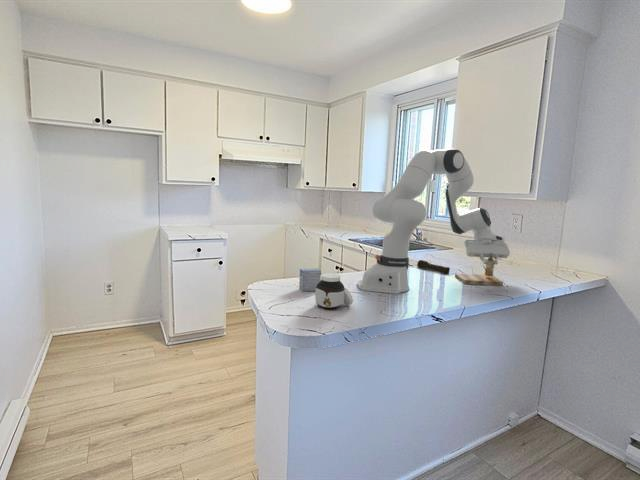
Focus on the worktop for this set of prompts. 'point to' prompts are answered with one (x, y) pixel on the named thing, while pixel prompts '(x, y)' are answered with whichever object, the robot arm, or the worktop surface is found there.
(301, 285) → the medicine box
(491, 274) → the brown bottle
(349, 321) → the worktop surface
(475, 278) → the board
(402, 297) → the worktop surface
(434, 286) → the worktop surface
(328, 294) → the spread jar
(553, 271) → the worktop surface
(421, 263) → the hand tool
